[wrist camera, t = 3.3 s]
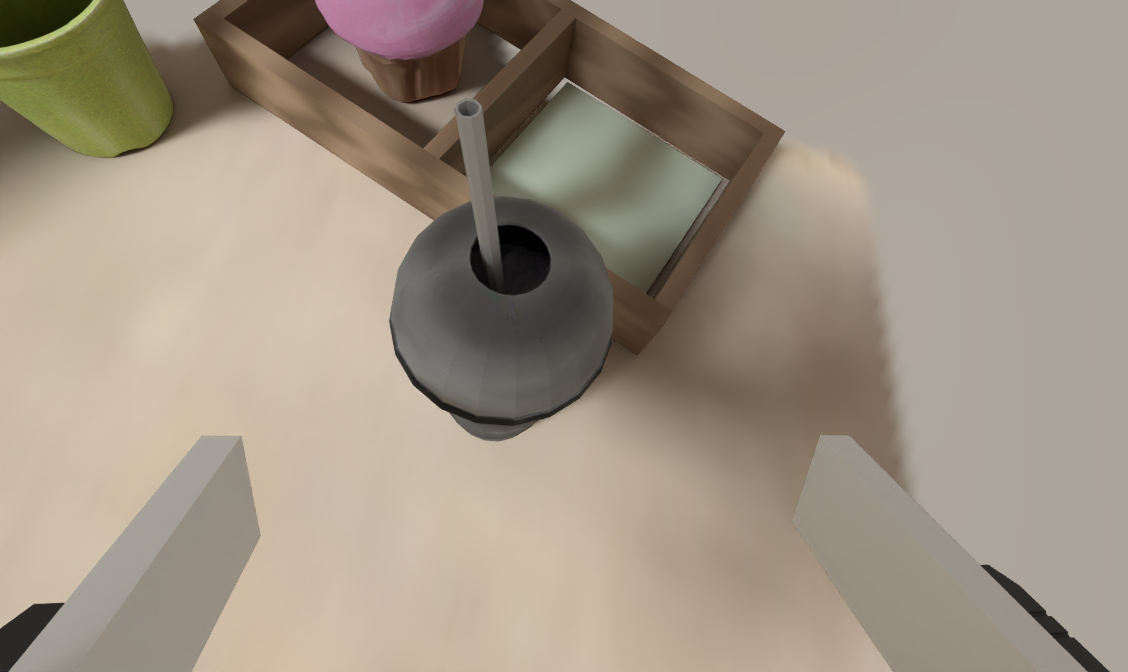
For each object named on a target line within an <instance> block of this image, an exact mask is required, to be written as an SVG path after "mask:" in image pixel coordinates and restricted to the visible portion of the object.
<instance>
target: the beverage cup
mask: <svg viewBox="0 0 1128 672" xmlns="http://www.w3.org/2000/svg"><path fill="white" fill-rule="evenodd" d="M455 114H456V120H457V125H458V131H459V136H460V142H461V147H462V153H463V158H464V164H465V169H466V175H467V180H468V186H469V191H470V197H471V201H469V202H467V203H465V204H463V205H460V206H458V207H456V208H454V209H452V210H449V211H447V212H445V213H443V214H442V215H440V216H439V217H438V218H437V219H436V220H435V221H433V222H432V223H431V224H430V225H429V226H428V227H427V228H426V229H425V230H423V231H422V232H421V233H420V234H419V235H418V236H417V237H416V239H415V240H414V242H413V244H412V246H411V247H410V249H409V251H408V253H407V254H406V256H405V258H404V260H403V262H402V263H401V265H400V267H399V269H398V273H397V278H396V284H395V290H394V296H393V301H392V307H391V314H390V320H389V323H390V328H391V334H392V339H393V345H394V350H395V355H396V357H397V358H398V360H399V362H400V363H401V365H402V367H403V369H404V370H405V372H406V374H407V375H408V377H409V379H410V381H411V382H412V384H413V385H414V386H415V387H416V388H417V389H418V390H419V391H421V392H422V393H423V394H424V395H425V396H426V397H428V398H429V399H430V400H431V401H432V402H433V403H435V404H436V405H437V406H438V407H439V408H440V409H442V410H445V411H447V412H449V413H450V414H451V415H452V417H453V418H454V419H455V421H456V422H457V423H458V424H459V425H460V426H461V427H463V428H464V429H465V430H466V431H467V432H468V433H470V434H471V435H473V436H475V437H478V438H480V439H483V440H487V441H502V440H506V439H510V438H513V437H515V436H517V435H519V434H520V433H522V432H523V431H525V430H527V429H528V428H530V427H531V426H532V425H533V424H534V423H535V422H536V421H537V420H540V419H544V418H548V417H551V416H552V415H554V414H555V413H557V412H559V411H560V410H562V409H563V408H565V407H567V406H568V405H570V404H571V403H573V402H575V401H576V400H578V399H579V398H580V397H581V396H582V395H583V394H584V392H585V391H586V390H587V389H588V387H589V386H590V385H591V384H592V383H593V381H594V380H595V379H596V378H597V376H598V375H599V374H600V373H601V370H602V368H603V365H604V362H605V360H606V357H607V354H608V351H609V349H610V346H611V343H612V331H613V289H612V286H611V283H610V280H609V276H608V273H607V270H606V267H605V264H604V261H603V258H602V256H601V254H600V253H599V252H598V250H597V249H596V247H595V246H594V245H593V243H592V242H591V240H590V239H589V238H588V236H587V235H586V233H585V232H584V231H583V230H582V229H581V228H580V227H578V226H577V225H576V224H575V223H573V222H572V221H571V220H569V219H568V218H567V217H566V216H564V215H563V214H562V213H560V212H559V211H558V210H555V209H553V208H551V207H548V206H546V205H543V204H541V203H538V202H536V201H533V200H531V199H523V198H515V197H507V196H497V197H493V189H492V181H491V173H490V165H489V157H488V150H487V142H486V134H485V126H484V118H483V110H482V106H481V105H480V103H479V102H478V101H477V100H474V99H464V100H462V101H460V102H458V103H457V105H456V108H455Z"/></svg>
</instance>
